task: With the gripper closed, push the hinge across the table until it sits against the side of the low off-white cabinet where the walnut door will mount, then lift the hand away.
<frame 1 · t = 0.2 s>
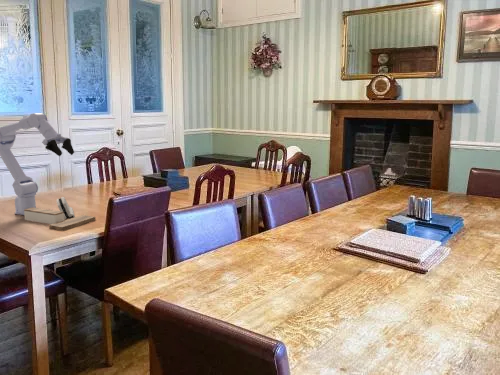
hand: (67, 154, 216), 31 cm above the table, tool tilted 45°, fingers open, 7 cm apart
hinge: (66, 215, 230), on the table
door leaf: (73, 224, 214), on the table
cabinet: (44, 221, 219), on the table
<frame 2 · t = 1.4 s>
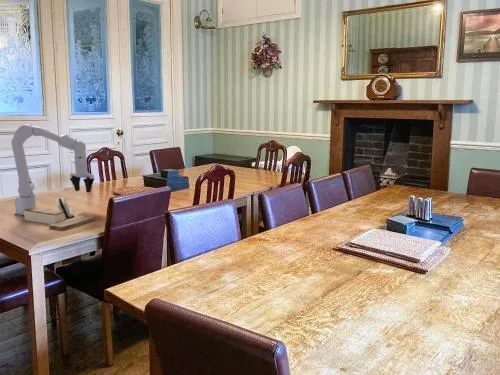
hand: (83, 191, 239), 10 cm above the table, tool pointing down, fingers open, 7 cm apart
nothing on the table moved.
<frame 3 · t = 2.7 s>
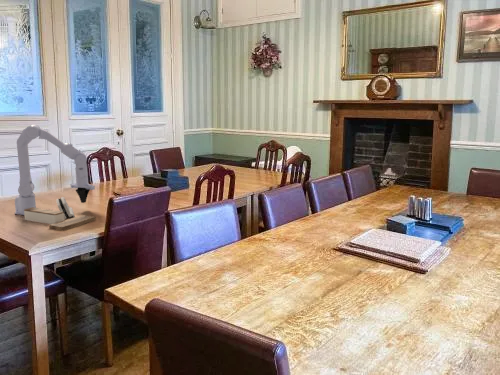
hand: (83, 202, 240), 4 cm above the table, tool pointing down, fingers closed
nothing on the table moved.
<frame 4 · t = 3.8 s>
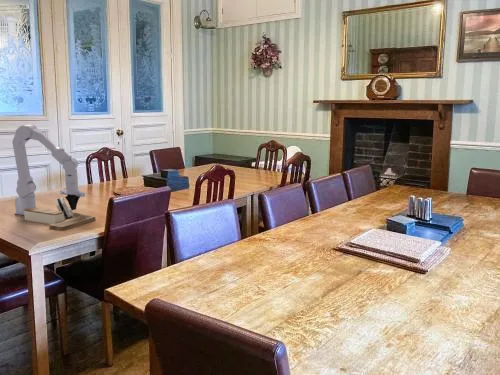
hand: (73, 209, 235), 2 cm above the table, tool pointing down, fingers closed
nothing on the table moved.
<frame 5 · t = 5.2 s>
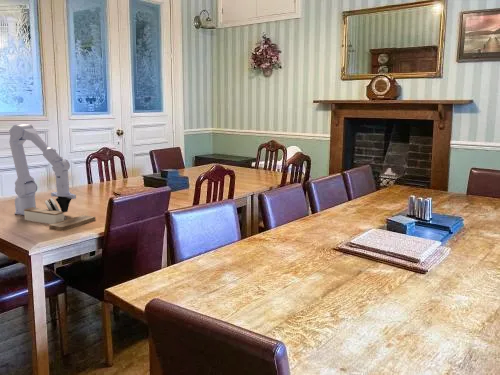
hand: (64, 211, 229), 2 cm above the table, tool pointing down, fingers closed
hinge: (55, 217, 227), on the table, touching cabinet, gripper
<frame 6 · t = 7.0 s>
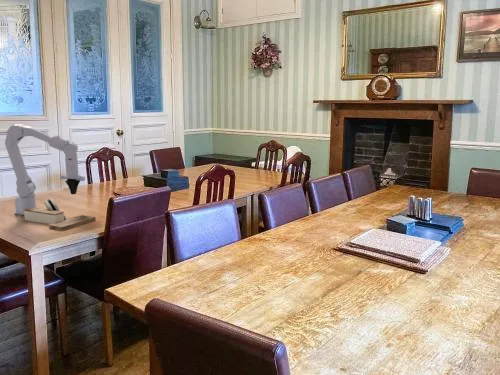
hand: (73, 193, 234), 9 cm above the table, tool pointing down, fingers closed
hinge: (55, 217, 227), on the table
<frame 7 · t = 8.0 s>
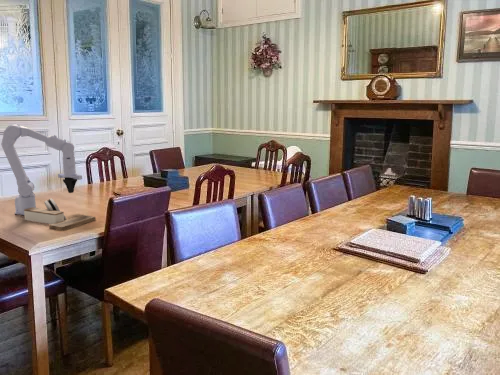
hand: (71, 192, 237), 9 cm above the table, tool pointing down, fingers closed
nothing on the table moved.
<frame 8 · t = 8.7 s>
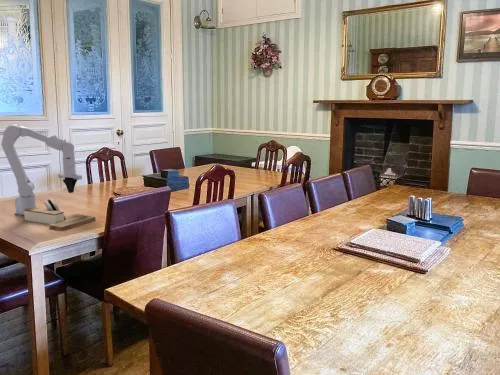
hand: (71, 192, 237), 9 cm above the table, tool pointing down, fingers closed
nothing on the table moved.
at the end: hinge inside the target area (2.0 cm from its centre), on the table; hinge tilted 0°; hinge moved 5.4 cm from its start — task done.
